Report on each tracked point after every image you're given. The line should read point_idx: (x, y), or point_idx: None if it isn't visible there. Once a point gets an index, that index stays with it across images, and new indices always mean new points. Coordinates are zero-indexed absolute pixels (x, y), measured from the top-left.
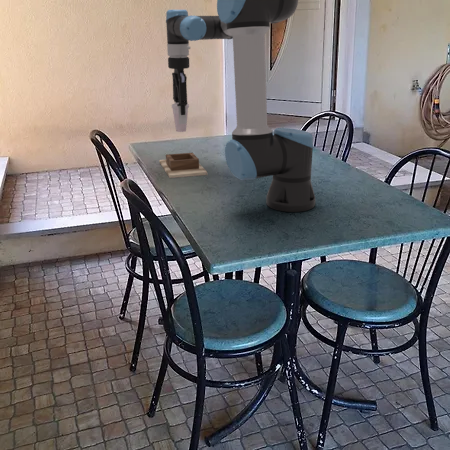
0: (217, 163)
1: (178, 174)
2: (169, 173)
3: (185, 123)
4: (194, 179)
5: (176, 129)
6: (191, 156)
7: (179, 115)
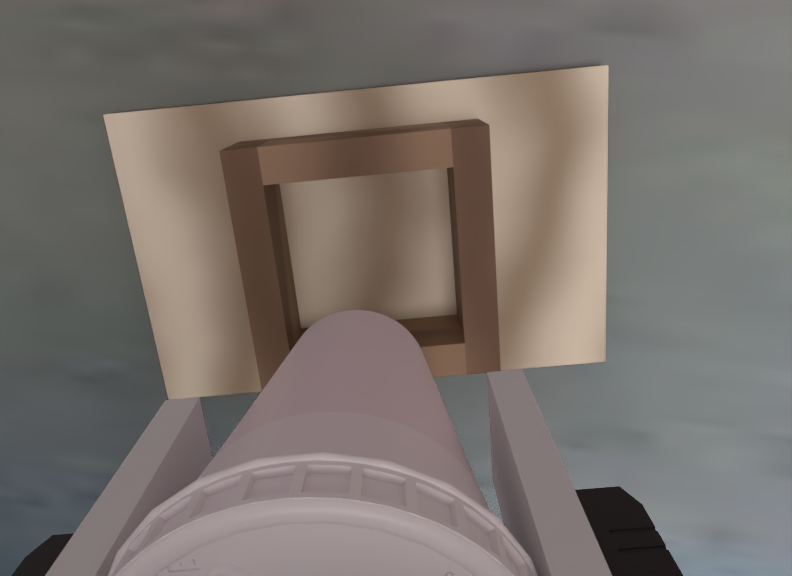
0: None
1: (124, 189)
2: (158, 119)
3: None
4: (69, 292)
5: (325, 322)
6: None
7: (108, 497)
